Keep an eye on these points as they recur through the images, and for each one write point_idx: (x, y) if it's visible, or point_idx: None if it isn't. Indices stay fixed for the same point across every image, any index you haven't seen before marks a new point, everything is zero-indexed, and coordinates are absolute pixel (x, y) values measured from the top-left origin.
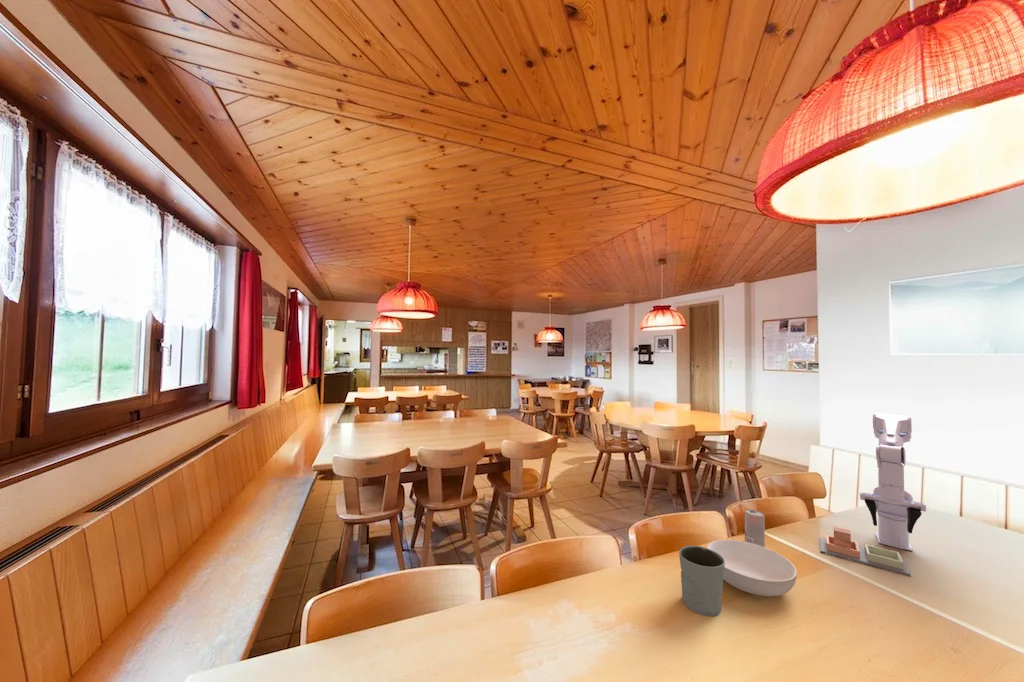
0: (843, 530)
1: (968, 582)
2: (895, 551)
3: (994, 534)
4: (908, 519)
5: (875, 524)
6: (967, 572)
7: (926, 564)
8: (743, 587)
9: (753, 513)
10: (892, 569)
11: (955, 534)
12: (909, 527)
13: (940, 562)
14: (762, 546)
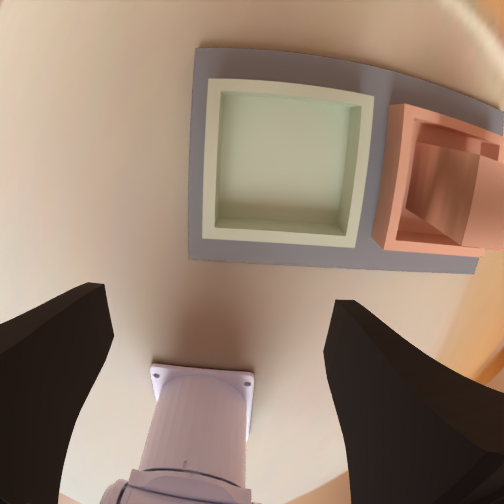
0: (497, 202)
1: (24, 172)
2: (217, 238)
3: None
4: (58, 398)
5: (351, 302)
6: (26, 273)
7: (114, 260)
8: None
9: None
10: (266, 50)
11: (92, 477)
12: (71, 300)
13: None
14: None
